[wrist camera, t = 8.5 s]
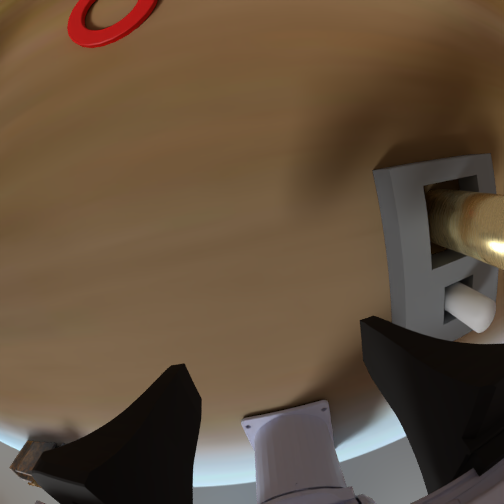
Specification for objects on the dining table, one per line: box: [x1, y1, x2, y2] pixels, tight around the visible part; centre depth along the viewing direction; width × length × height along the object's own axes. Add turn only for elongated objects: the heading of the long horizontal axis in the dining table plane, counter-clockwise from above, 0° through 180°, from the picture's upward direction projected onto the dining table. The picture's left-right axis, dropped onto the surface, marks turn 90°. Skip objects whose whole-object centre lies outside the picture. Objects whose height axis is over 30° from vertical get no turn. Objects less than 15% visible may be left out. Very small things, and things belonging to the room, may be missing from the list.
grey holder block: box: [372, 153, 498, 341], centre depth 17 cm, size 15×11×6 cm
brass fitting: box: [425, 189, 504, 270], centre depth 14 cm, size 4×4×9 cm
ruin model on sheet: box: [10, 441, 65, 488], centre depth 21 cm, size 11×3×10 cm, turn 113°
